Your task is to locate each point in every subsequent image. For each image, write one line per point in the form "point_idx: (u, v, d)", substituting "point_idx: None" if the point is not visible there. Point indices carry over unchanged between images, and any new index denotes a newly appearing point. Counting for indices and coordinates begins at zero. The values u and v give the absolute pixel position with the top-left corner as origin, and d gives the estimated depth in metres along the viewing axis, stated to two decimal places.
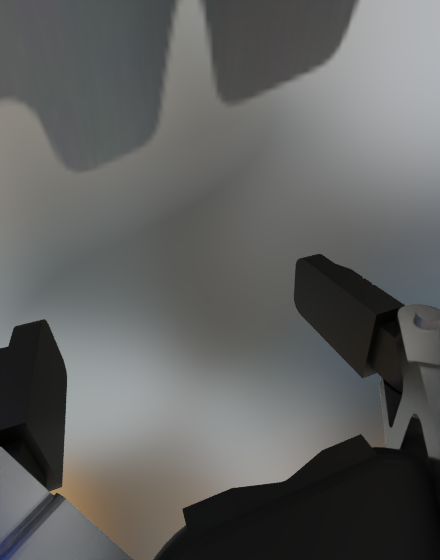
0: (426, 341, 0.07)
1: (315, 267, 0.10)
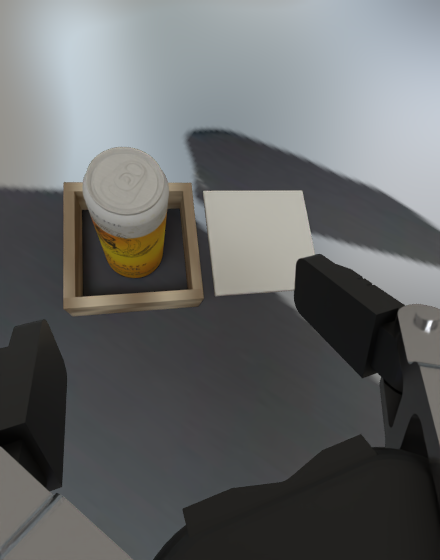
0: (426, 341, 0.07)
1: (315, 267, 0.10)
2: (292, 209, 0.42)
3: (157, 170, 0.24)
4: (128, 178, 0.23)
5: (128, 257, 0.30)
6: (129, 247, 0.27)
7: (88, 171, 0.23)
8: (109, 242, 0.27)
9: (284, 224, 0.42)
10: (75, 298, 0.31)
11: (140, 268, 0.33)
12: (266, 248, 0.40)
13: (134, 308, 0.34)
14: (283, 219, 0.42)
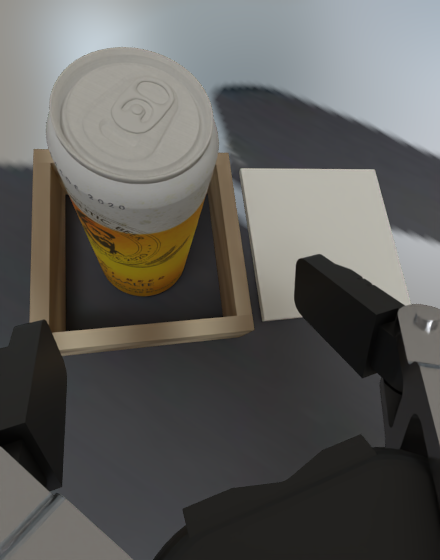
0: (426, 341, 0.07)
1: (315, 267, 0.10)
2: (363, 195, 0.30)
3: (199, 96, 0.12)
4: (139, 107, 0.11)
5: (137, 267, 0.17)
6: (139, 250, 0.15)
7: (56, 90, 0.11)
8: (103, 242, 0.15)
9: (354, 216, 0.29)
10: None
11: (154, 282, 0.21)
12: (332, 250, 0.28)
13: (145, 345, 0.22)
14: (352, 209, 0.30)
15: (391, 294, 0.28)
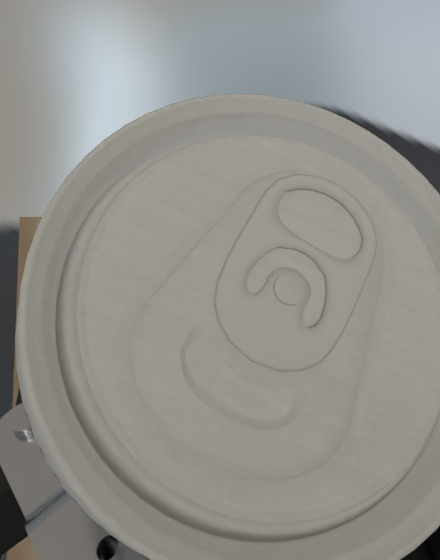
0: None
1: None
2: None
3: (426, 221, 0.05)
4: (297, 280, 0.04)
5: None
6: None
7: (42, 250, 0.03)
8: None
9: None
10: None
11: None
12: None
13: None
14: None
15: None
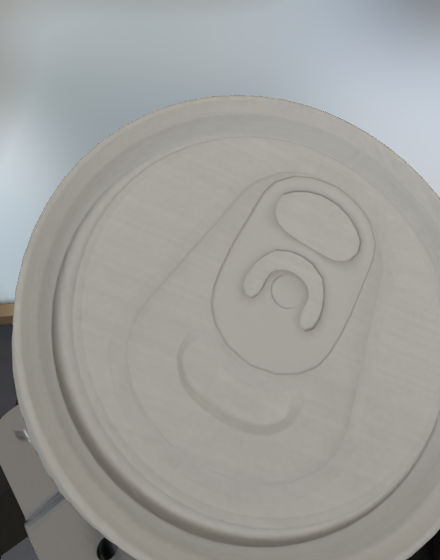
0: None
1: None
2: None
3: (425, 223, 0.05)
4: (294, 284, 0.04)
5: None
6: None
7: (38, 253, 0.03)
8: None
9: None
10: None
11: None
12: None
13: None
14: None
15: None
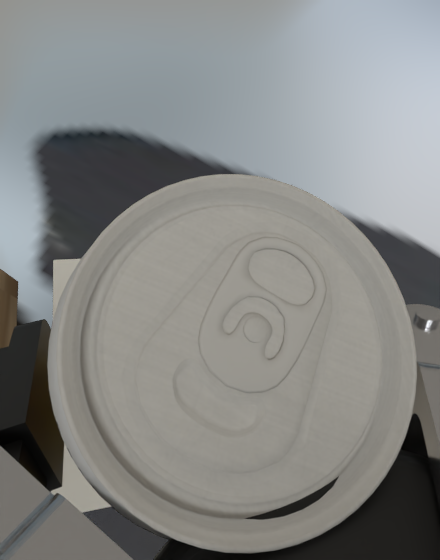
0: (426, 341, 0.07)
1: None
2: None
3: (368, 271, 0.06)
4: (261, 324, 0.05)
5: None
6: None
7: (72, 305, 0.04)
8: None
9: None
10: None
11: None
12: None
13: None
14: None
15: None
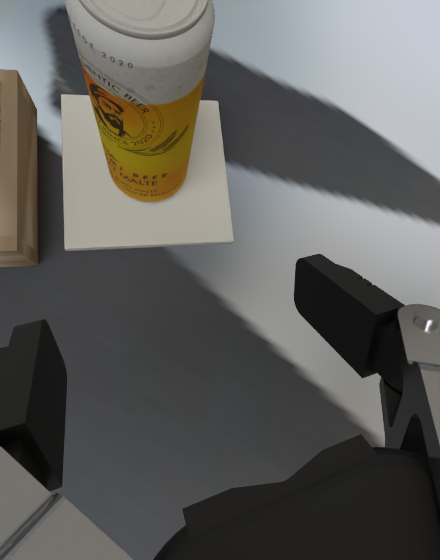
0: (426, 341, 0.07)
1: (315, 267, 0.10)
2: (200, 127, 0.29)
3: None
4: None
5: (143, 155, 0.20)
6: (145, 129, 0.17)
7: None
8: (113, 121, 0.17)
9: None
10: None
11: (157, 181, 0.23)
12: None
13: None
14: None
15: (213, 229, 0.27)
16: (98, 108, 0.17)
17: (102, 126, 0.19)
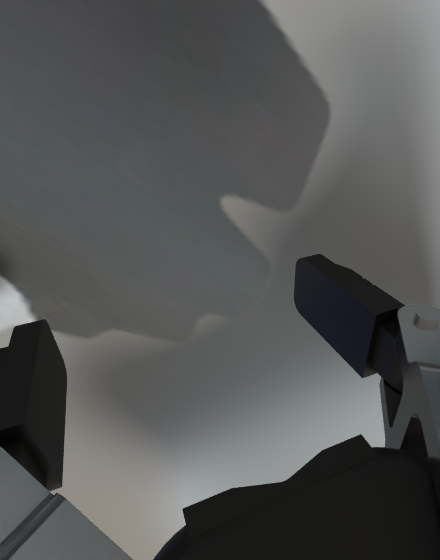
0: (426, 341, 0.07)
1: (315, 267, 0.10)
2: None
3: None
4: None
5: None
6: None
7: None
8: None
9: None
10: None
11: None
12: None
13: None
14: None
15: None
16: None
17: None
